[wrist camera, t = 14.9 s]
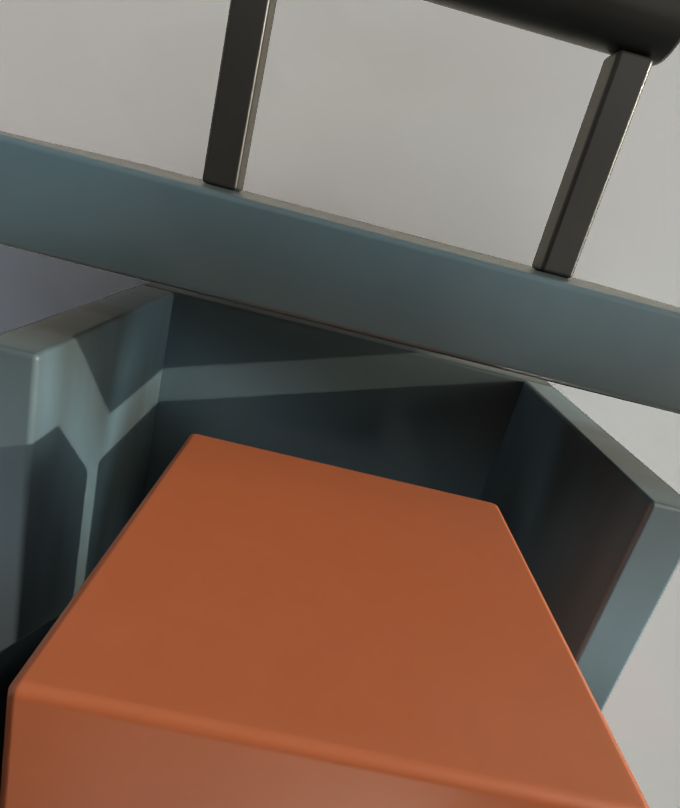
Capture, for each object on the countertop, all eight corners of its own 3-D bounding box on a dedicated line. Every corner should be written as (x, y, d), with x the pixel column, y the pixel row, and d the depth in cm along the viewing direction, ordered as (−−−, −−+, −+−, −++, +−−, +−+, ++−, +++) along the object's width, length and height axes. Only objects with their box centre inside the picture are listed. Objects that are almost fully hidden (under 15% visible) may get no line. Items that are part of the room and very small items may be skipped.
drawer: (172, -89, 11) (-94, -544, 5) (693, 63, 12) (1142, -131, 5) (83, 625, 17) (-93, 901, 10) (439, 700, 18) (496, 1004, 11)
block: (498, 501, 8) (662, 820, 4) (410, 731, 9) (459, 1147, 5) (191, 429, 8) (1, 686, 4) (147, 676, 9) (-25, 1070, 5)
